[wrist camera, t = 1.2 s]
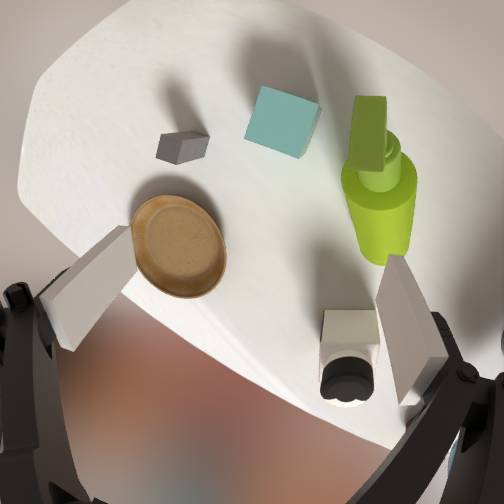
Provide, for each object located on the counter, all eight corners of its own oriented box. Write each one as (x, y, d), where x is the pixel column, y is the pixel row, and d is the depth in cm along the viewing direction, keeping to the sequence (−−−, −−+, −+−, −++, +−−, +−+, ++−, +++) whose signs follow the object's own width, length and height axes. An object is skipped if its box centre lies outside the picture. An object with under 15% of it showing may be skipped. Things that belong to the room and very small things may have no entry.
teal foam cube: (321, 109, 29) (318, 104, 23) (305, 152, 31) (298, 158, 25) (275, 93, 29) (261, 85, 23) (260, 136, 32) (243, 138, 26)
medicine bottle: (323, 308, 39) (315, 372, 29) (376, 308, 37) (384, 373, 27) (322, 348, 42) (313, 412, 31) (370, 349, 40) (373, 414, 29)
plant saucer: (176, 167, 37) (165, 170, 35) (255, 249, 39) (250, 258, 36) (123, 237, 44) (113, 243, 41) (189, 306, 45) (182, 315, 43)
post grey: (209, 136, 34) (182, 140, 28) (204, 156, 35) (176, 165, 29) (191, 131, 34) (161, 134, 28) (185, 150, 36) (155, 157, 29)
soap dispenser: (353, 271, 32) (308, 162, 15) (362, 214, 34) (326, 78, 17) (404, 278, 29) (422, 170, 12) (411, 219, 31) (416, 79, 14)
